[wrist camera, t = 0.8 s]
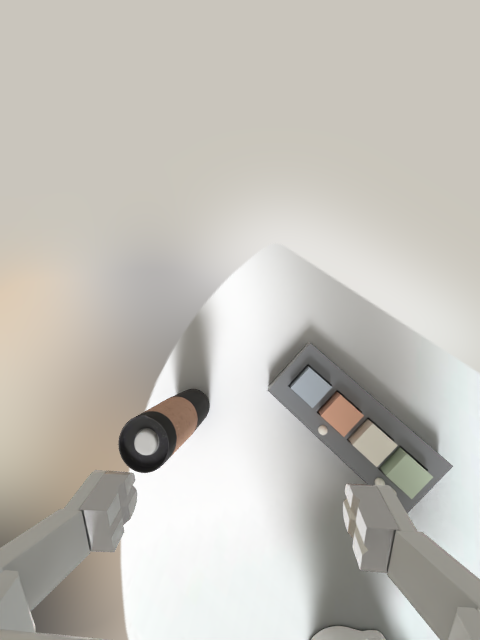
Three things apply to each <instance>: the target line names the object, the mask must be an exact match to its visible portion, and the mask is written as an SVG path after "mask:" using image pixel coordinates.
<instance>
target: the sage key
mask: <svg viewBox="0 0 480 640" xmlns="http://www.w3.org/2000/svg"><path fill="white" fill-rule="evenodd" d="M380 469H381V470H382V471H383V473H384V474H385V475H386V476H387V477H388V478H389V479H390V480H391V481H392V482H393V483H394V484H396V485H397V486H398V487H399V488H400V489H401V490H402V491H403V492H404V493H405V494H406V495H408V496H409V497H410V498H411V499H413V498H414V497H415V496H416V494H417V493H418V492H419V491H420V490H421V489H422V488H423V487H424V486H425V485H426V484H427V483H428V482H429V481H430V480H431V479H432V478H433V476H432V475H431V474H430V473H428V472H427V471H426V470H425V469H424V468H423V467H422V466H421V465H419V464H418V463H417V462H416V461H415V460H414V459H413V458H412V457H410V456H409V455H408V454H407V453H406V452H405V451H404V450H403V449H401V448H400V447H398V448H397V449H396V451H395V452H394V453H393V454H392V455H391V456H390V457H389V458H388V459H387V460H386V461H385V462H384V463H383V464H382V465H381V466H380Z"/></svg>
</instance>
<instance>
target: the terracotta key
mask: <svg viewBox="0 0 480 640" xmlns="http://www.w3.org/2000/svg"><path fill="white" fill-rule="evenodd" d="M318 412H319V414H320V415H321V417H323V418H324V419H325V420H326V421H327V422H328V423H329V424H330V425H331V426H332V427H333V428H335V429H336V430H337V431H338V432H339V433H340V434H341V435H342V436H343V437H345V435H346V434H347V433H348V432H349V431H350V430H351V429H352V428H353V427H354V426H355V425H356V424H357V423H358V422H359V421H360V419H361V418H362V417H363V416H364V415H363V414H362V413H361V412H360V411H358V410H357V409H356V408H355V407H354V406H353V405H352V404H351V403H349V402H348V401H347V400H346V399H345V398H344V397H343V396H342V395H340V394H339V393H338V392H337V391H336V392H335V393H334V394H333V395H332V396H331V397H330V398H329V399H328V400H327V401H326V402H325V404H324V405H323V406H322V407H321V408H320V409H319V410H318Z"/></svg>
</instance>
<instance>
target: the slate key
mask: <svg viewBox="0 0 480 640" xmlns="http://www.w3.org/2000/svg"><path fill="white" fill-rule="evenodd" d="M290 388H291V389H292V390H293V391H294V392H295V393H296V394H297V395H299V396H300V397H301V398H302V399H303V400H304V401H305V402H306V403H307V404H308V405H309V406H311V407H312V408H313V407H314V406H315V405H316V404H317V403H318V402H319V401H320V400H321V399H322V398H323V397H324V396H325V394H326V393H327V392H328V391H329V390H330V389H331V388H332V387H331V386H330V385H329V384H328V383H327V382H326V381H325V380H323V379H322V378H321V377H320V376H319V375H318V374H317V373H316V372H314V371H313V370H312V369H311V368H310V367H309V366H308V365H307V366H306V367H305V368H304V369H303V370H302V371H301V372H300V374H299V375H298V376H297V377H296V378H295V379H294V380H293V381H292V382H291V383H290Z"/></svg>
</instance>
